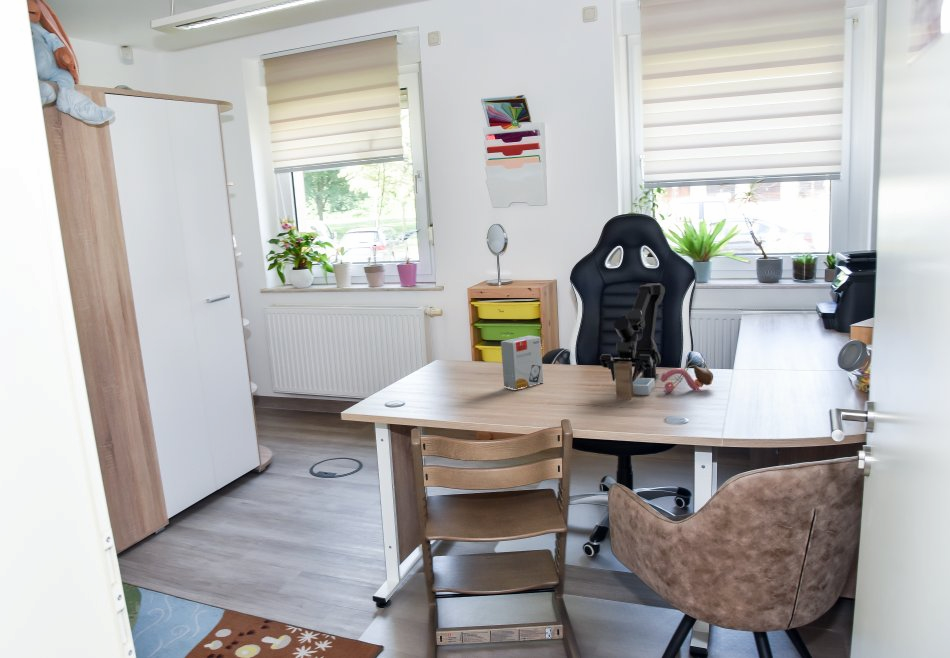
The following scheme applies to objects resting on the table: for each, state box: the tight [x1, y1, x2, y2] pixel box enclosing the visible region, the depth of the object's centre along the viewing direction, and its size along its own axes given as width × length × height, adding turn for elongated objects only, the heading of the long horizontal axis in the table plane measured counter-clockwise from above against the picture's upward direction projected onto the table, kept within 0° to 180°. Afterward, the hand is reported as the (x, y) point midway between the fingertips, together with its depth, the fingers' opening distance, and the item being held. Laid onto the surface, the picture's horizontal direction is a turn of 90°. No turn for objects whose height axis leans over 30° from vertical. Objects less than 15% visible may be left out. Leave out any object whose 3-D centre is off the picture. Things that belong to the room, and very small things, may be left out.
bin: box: [633, 377, 656, 396], centre depth 262 cm, size 11×11×4 cm
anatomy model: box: [660, 355, 714, 394], centre depth 255 cm, size 11×15×17 cm
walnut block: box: [615, 361, 634, 400], centre depth 254 cm, size 5×5×13 cm
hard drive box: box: [500, 335, 544, 389], centre depth 283 cm, size 16×8×20 cm, turn 126°
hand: (623, 380), depth 252 cm, fingers open, 7 cm apart
